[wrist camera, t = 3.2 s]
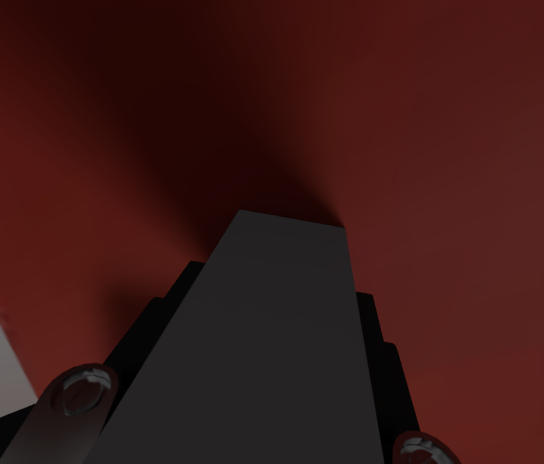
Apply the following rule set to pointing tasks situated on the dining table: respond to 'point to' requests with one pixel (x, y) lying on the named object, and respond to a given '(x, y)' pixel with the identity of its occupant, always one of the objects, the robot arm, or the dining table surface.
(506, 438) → the dining table surface
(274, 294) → the plug
